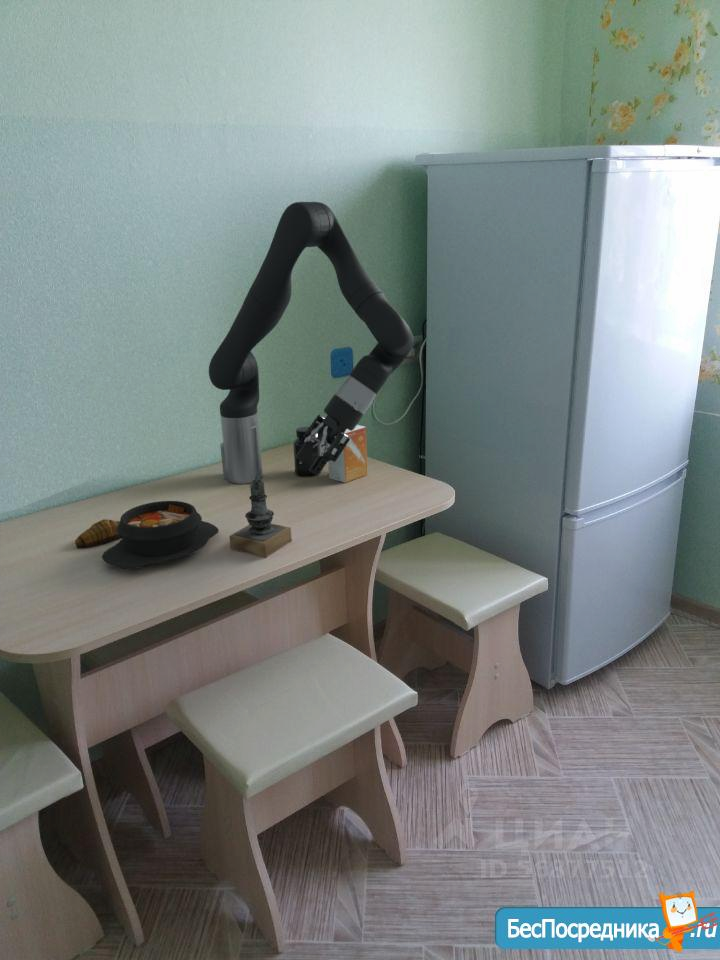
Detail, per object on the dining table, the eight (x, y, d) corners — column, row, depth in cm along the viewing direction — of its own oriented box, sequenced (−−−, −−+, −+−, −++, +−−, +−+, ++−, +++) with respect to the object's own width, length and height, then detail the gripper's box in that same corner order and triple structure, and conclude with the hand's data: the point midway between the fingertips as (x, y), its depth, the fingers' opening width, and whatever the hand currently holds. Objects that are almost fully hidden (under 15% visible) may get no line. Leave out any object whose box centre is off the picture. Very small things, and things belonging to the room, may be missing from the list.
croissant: (83, 555, 163) (79, 532, 161) (70, 545, 168) (66, 523, 166) (143, 536, 171) (140, 514, 169) (129, 527, 176) (126, 506, 174)
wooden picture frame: (230, 549, 162) (229, 535, 161) (257, 533, 169) (255, 519, 168) (266, 557, 158) (264, 542, 156) (291, 540, 165) (290, 526, 164)
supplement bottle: (289, 474, 205) (286, 430, 201) (307, 467, 210) (305, 423, 206) (308, 479, 201) (305, 434, 196) (326, 472, 205) (324, 427, 201)
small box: (345, 483, 197) (343, 433, 192) (328, 478, 201) (325, 429, 197) (368, 475, 202) (366, 426, 198) (351, 470, 206) (349, 422, 202)
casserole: (182, 521, 177) (178, 486, 174) (238, 541, 166) (235, 504, 163) (84, 561, 159) (78, 523, 156) (139, 586, 148) (134, 545, 145)
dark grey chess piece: (277, 524, 165) (273, 470, 161) (272, 536, 159) (267, 480, 155) (250, 524, 166) (245, 470, 161) (243, 536, 160) (238, 480, 156)
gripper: (324, 385, 169) (281, 447, 170) (350, 402, 157) (303, 469, 157) (350, 403, 173) (308, 464, 174) (376, 421, 160) (331, 486, 161)
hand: (306, 466), depth 166 cm, fingers open, 8 cm apart
